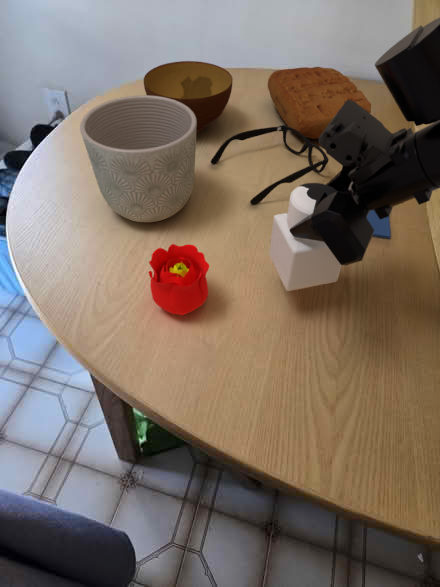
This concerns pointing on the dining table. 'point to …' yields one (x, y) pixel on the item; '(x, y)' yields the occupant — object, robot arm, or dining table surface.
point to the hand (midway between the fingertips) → (301, 217)
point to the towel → (379, 225)
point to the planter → (142, 154)
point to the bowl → (192, 87)
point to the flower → (179, 278)
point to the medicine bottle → (302, 243)
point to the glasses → (284, 129)
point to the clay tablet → (312, 97)
